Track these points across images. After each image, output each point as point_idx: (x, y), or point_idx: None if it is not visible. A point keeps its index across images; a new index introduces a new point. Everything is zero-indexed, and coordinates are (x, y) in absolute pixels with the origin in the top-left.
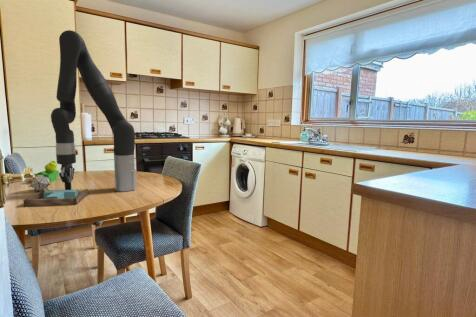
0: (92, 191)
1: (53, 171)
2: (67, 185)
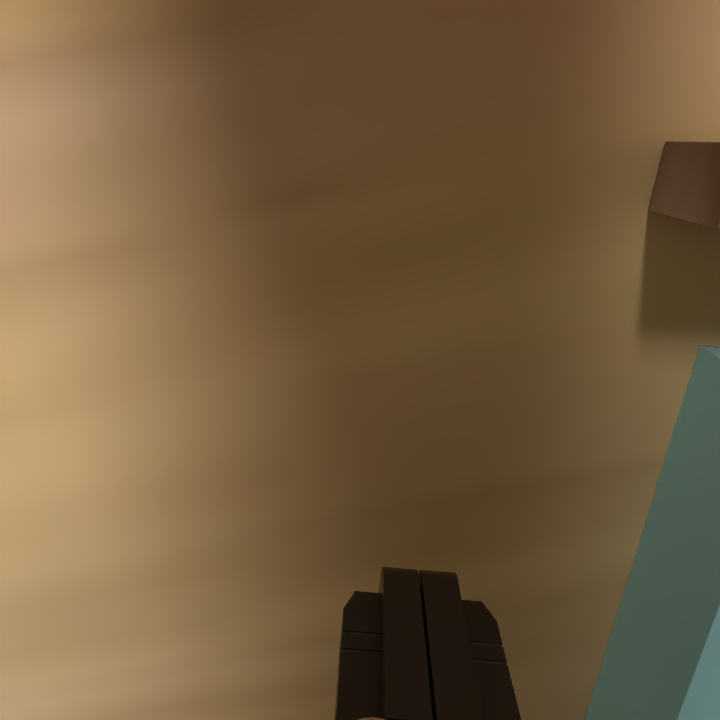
0: (333, 96)
1: None
2: (509, 710)
